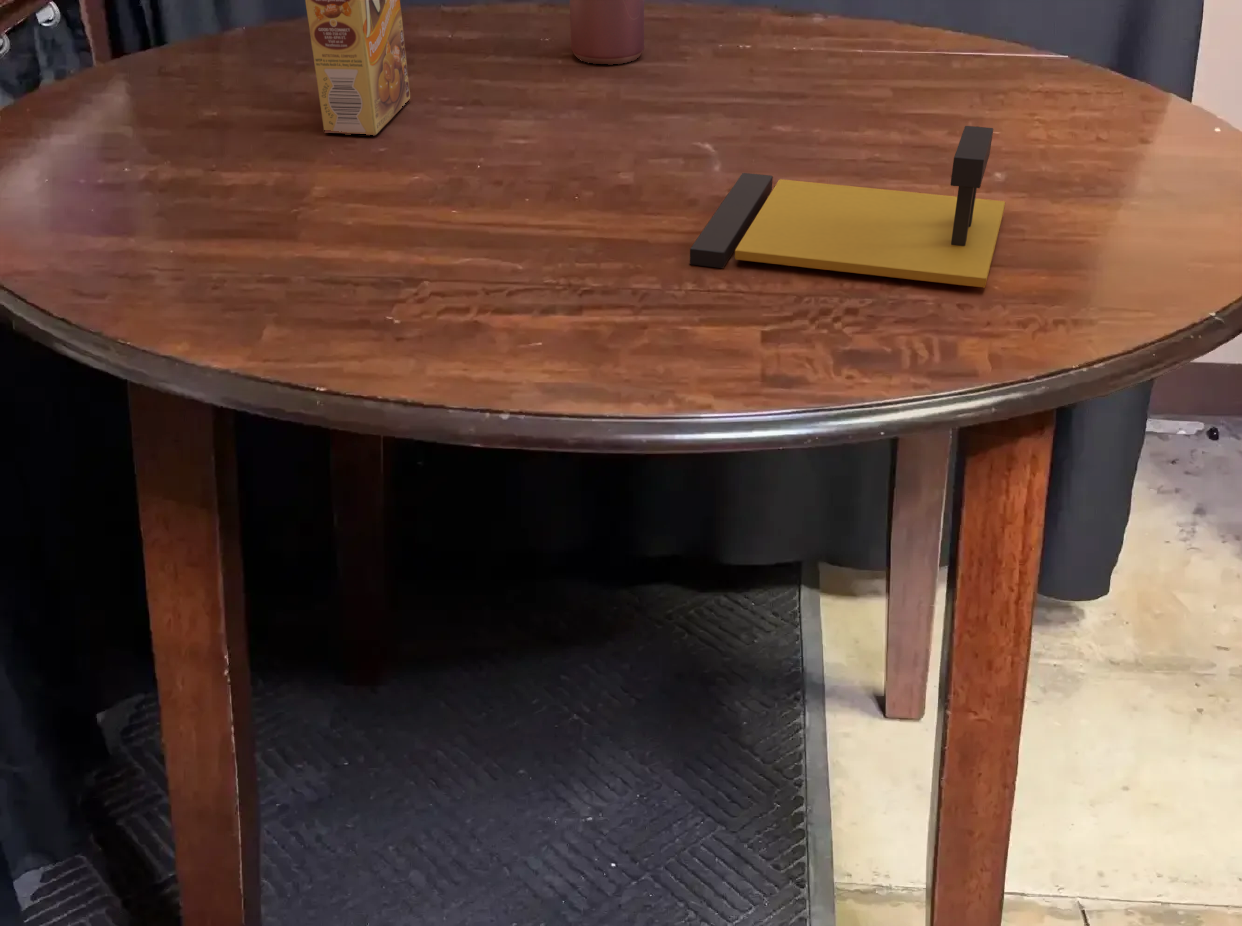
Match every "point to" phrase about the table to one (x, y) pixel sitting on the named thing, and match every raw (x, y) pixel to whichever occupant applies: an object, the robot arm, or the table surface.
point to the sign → (884, 226)
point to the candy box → (358, 62)
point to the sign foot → (731, 221)
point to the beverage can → (607, 30)
